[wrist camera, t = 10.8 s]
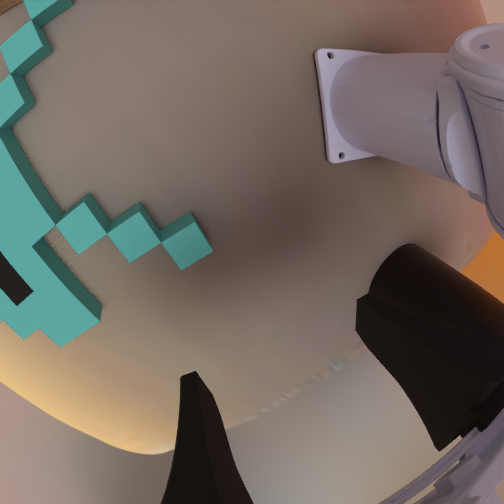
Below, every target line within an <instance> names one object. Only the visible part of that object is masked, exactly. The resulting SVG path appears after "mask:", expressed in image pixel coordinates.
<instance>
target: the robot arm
mask: <svg viewBox="0 0 504 504" xmlns="http://www.w3.org/2000/svg"><path fill="white" fill-rule="evenodd" d="M327 53H329V54H330V56H331V57H330V59H329V58H328V56H327ZM315 61H316V67H317V74H318V81H319V88H320V95H321V103H322V112H323V121H324V130H325V140H326V152H327V159H328V161H329V162H331V163H333V164H337V163H342V162H347V161H352V160H357V159H362V158H368V157H373V156H381V157H384V158H387V159H390V160H393V161H396V162H399V163H402V164H404V165H407V166H410V167H413V168H416V169H418V170H421V171H424V172H426V173H429V174H431V175H434V176H436V177H439V178H441V179H444V180H446V181H448V182H451V183H453V184H456V185H458V186H460V187H462V188H464V189H466V190H467V191H468V194H469V197H471V198H473V199H475V200H477V201H479V202H481V203H483V204H485V206H486V211H487V215H488V218H489V220H490V222H491V224H492V226H493V227H494V228H495V230H496V231H497V232H498V234H499V235H500V236H501V237H502V238H503V239H504V23H494V24H486V25H481V26H477V27H474V28H471V29H469V30H467V31H465V32H463V33H462V34H460V35H459V36H458V37H457V38H456V40H455V42H454V44H453V45H452V46H451V48H450V49H449V51H448V53H394V54H382V53H374V52H366V51H356V50H343V49H324V48H322V49H318V50H316V52H315ZM340 152H341V157H340V158H339V153H340ZM355 330H356V332H357V333H358V335H359V336H360V338H361V339H362V341H363V342H364V343H365V345H366V346H367V348H368V349H369V350H370V351H371V352H372V353H373V354H374V355H375V357H376V358H377V359H378V360H379V361H380V363H381V364H382V365H383V366H384V367H385V368H386V369H387V370H388V372H389V373H390V374H391V375H392V376H393V377H394V378H395V379H396V381H397V382H398V383H399V385H400V386H401V387H402V389H403V390H404V392H405V393H406V395H407V396H408V397H409V399H410V400H411V402H412V404H413V406H414V407H415V409H416V410H417V412H418V414H419V416H420V417H421V419H422V421H423V423H424V424H425V426H426V428H427V431H428V433H429V435H430V437H431V439H432V441H433V444H434V446H435V447H436V449H437V450H438V451H441V450H442V449H443V448H445V447H446V446H447V445H449V443H451V442H452V441H453V440H455V439H456V438H457V437H458V436H459V435H461V437H462V438H463V439H462V440H461V441H460V442H459V443H458V444H457V445H456V446H454V447H453V448H452V449H451V450H450V451H449V452H448V453H447V454H445V455H444V456H443V457H442V458H441V459H440V460H438V462H436V463H435V464H434V465H433V466H431V467H430V468H429V469H428V470H426V471H425V472H424V473H422V474H421V475H420V476H418V477H417V478H416V479H414V480H413V481H412V482H410V483H409V484H407V485H406V486H405V487H403V488H402V489H400V490H399V491H398V492H396V493H394V494H393V495H391V496H390V497H388V498H387V499H385V500H383V501H382V502H380V503H378V504H404V503H405V502H406V501H408V500H409V499H411V498H412V497H414V496H415V495H416V494H418V493H419V492H420V491H421V490H423V489H424V488H426V487H427V486H428V485H430V484H431V483H432V482H433V481H434V480H436V479H437V478H438V477H439V476H440V475H442V474H443V473H444V472H445V471H446V470H448V468H450V467H451V466H452V465H453V464H454V463H455V462H456V461H458V460H459V463H458V464H456V465H455V466H454V467H452V468H451V469H449V470H448V471H447V472H446V473H445V474H443V475H442V476H441V478H439V479H438V480H437V481H436V482H435V483H434V485H433V486H434V487H435V489H434V490H432V491H431V492H430V493H428V494H427V495H426V496H424V497H423V498H421V499H420V500H418V501H417V502H415V503H414V504H504V502H503V500H502V499H501V498H500V496H499V495H498V493H497V492H496V491H495V490H496V488H497V487H498V486H499V484H500V483H501V482H502V480H503V479H504V338H495V337H486V336H479V335H473V334H468V333H463V332H459V331H455V330H452V329H449V328H445V327H442V326H439V325H436V324H433V323H431V322H428V321H426V320H423V319H421V318H418V317H416V316H414V315H412V314H409V313H407V312H405V311H403V310H401V309H399V308H397V307H395V306H393V305H391V304H388V303H386V302H384V301H382V300H380V299H378V298H376V297H374V296H372V295H370V294H366V295H364V296H362V297H361V298H359V299H357V310H356V329H355ZM161 504H253V501H252V499H251V497H250V495H249V493H248V491H247V490H246V487H245V485H244V483H243V481H242V479H241V477H240V474H239V472H238V470H237V467H236V465H235V462H234V459H233V456H232V453H231V450H230V446H229V442H228V439H227V436H226V432H225V429H224V425H223V421H222V418H221V415H220V412H219V410H218V407H217V405H216V402H215V399H214V397H213V395H212V393H211V392H210V390H209V389H208V388H207V386H206V385H205V383H204V382H203V381H202V379H201V378H200V376H199V375H198V373H197V372H196V371H194V372H191V373H189V374H186V375H183V376H181V378H180V407H179V419H178V430H177V437H176V444H175V451H174V456H173V462H172V467H171V471H170V475H169V479H168V482H167V486H166V490H165V493H164V496H163V499H162V502H161Z"/></svg>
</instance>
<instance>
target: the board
mask: <svg viewBox="0 0 504 504" xmlns="http://www.w3.org/2000/svg"><path fill="white" fill-rule="evenodd" d="M22 1H23V0H0V15H1V14H3V13H4V12H6V11H7V10H9V9H11V8H12V7H14V6H15V5H17V4H19V3H21V2H22Z"/></svg>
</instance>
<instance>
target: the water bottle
mask: <svg viewBox="0 0 504 504" xmlns="http://www.w3.org/2000/svg"><path fill="white" fill-rule="evenodd" d="M369 294H370V295H372V296H374V297H376V298H378V299H380V300H382V301H384V302H386V303H388V304H391V305H393V306H395V307H397V308H399V309H401V310H403V311H405V312H407V313H409V314H412V315H414V316H416V317H418V318H421V319H423V320H426V321H428V322H431V323H433V324H436V325H439V326H442V327H445V328H449V329H452V330H455V331H459V332H463V333H468V334H473V335H479V336H486V337H495V338H504V304H503V303H502V302H501V301H499V300H498V299H497V298H495V297H494V296H493V295H491V294H490V293H488V292H487V291H486V290H484V289H483V288H482V287H480V286H479V285H477V284H476V283H474V282H473V281H472V280H470V279H469V278H467V277H466V276H464V275H463V274H461V273H460V272H458V271H457V270H455V269H454V268H452V267H451V266H449V265H448V264H446V263H445V262H443V261H442V260H440V259H438V258H437V257H435V256H434V255H432V254H430V253H429V252H427V251H426V250H424V249H422V248H421V247H419V246H417V245H415V244H407V245H404V246H402V247H400V248H398V249H397V250H395V251H394V252H393V253H392V254H391V255H390V256H389V257H388V258H387V259H386V260H385V261H384V262H383V264H382V265H381V266H380V268H379V269H378V271H377V273H376V274H375V276H374V278H373V281H372V283H371V286H370V290H369Z"/></svg>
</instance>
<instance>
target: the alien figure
mask: <svg viewBox="0 0 504 504" xmlns="http://www.w3.org/2000/svg"><path fill="white" fill-rule="evenodd" d="M23 1H24V3H25V6H26V8H27V11H28V13H29V16H30V18H31V20H30V21H29V22H28V23H26V24H25V25H24V26H23V27H21V28H20V29H19V30H18V31H17V32H16V33H14V34H13V35H12V36H11V37H10V38H9V39H8V40H7V41H5V42H4V43H3V44H2V45H1V46H0V49H1V52H2V54H3V57H4V59H5V62H6V64H7V66H8V69H9V71H10V73H11V74H9V75H8V76H7V77H6V78H5V79H4V80H3V81H2V82H1V83H0V322H1V321H2V320H3V321H4V322H5V323H6V324H7V325H8V326H9V327H11V328H12V329H13V330H14V331H15V332H16V333H17V334H18V335H19V336H20V337H21V338H22V339H23V340H24V339H25V338H27V337H28V336H29V335H30V334H32V333H33V332H34V331H36V330H37V329H38V328H39V329H40V330H41V331H42V332H43V333H45V334H46V335H47V336H48V337H49V338H50V339H51V340H52V341H54V342H55V343H56V344H57V345H58V346H59V347H62V346H63V345H65V344H66V343H68V342H69V341H71V340H72V339H74V338H75V337H77V336H79V335H80V334H82V333H83V332H85V331H86V330H88V329H89V328H91V327H93V326H94V325H96V324H97V323H99V322H100V318H101V310H102V305H101V304H100V303H99V302H98V301H97V300H96V299H95V298H94V297H93V296H92V295H91V294H90V292H89V291H88V290H87V289H86V288H85V287H84V286H83V285H82V284H81V283H80V282H79V280H78V279H77V278H76V277H75V276H74V275H73V274H72V272H71V271H70V270H69V269H68V268H67V267H66V265H65V264H64V263H63V262H62V261H61V260H60V258H59V257H58V256H57V255H56V253H55V252H54V251H53V250H52V248H51V247H50V246H49V245H48V243H47V242H46V241H45V239H44V238H43V236H44V235H45V234H46V233H47V232H48V231H49V230H50V229H52V228H53V227H54V226H55V225H56V226H57V228H58V229H59V230H60V232H61V233H62V234H63V236H64V237H65V238H66V240H67V241H68V242H69V243H70V245H71V246H72V247H73V248H74V250H75V251H76V252H77V253H78V255H79V254H80V253H82V252H83V251H84V250H86V249H87V248H88V247H90V246H91V245H92V244H94V243H95V242H96V241H98V240H99V239H101V238H102V237H103V236H105V235H106V234H108V236H109V237H110V238H111V240H112V241H113V242H114V244H115V245H116V246H117V247H118V249H119V250H120V251H121V253H122V254H123V255H124V256H125V258H126V259H127V260H128V261H129V263H131V262H132V261H134V260H135V259H137V258H138V257H140V256H141V255H143V254H145V253H146V252H148V251H149V250H151V249H152V248H154V247H155V246H157V245H159V244H160V243H162V245H163V246H164V248H165V249H166V250H167V252H168V253H169V254H170V256H171V257H172V258H173V260H174V261H175V262H176V264H177V265H178V267H179V268H180V269H181V271H182V270H184V269H185V268H187V267H188V266H190V265H192V264H193V263H195V262H197V261H198V260H200V259H202V258H203V257H205V256H207V255H208V254H210V253H212V252H213V250H212V247H211V245H210V243H209V241H208V239H207V237H206V236H205V234H204V233H203V231H202V229H201V228H200V226H199V225H198V223H197V221H196V220H195V218H194V217H193V215H192V213H191V212H189V213H187V214H186V215H184V216H182V217H181V218H179V219H177V220H176V221H174V222H173V223H171V224H169V225H168V226H166V227H165V228H163V229H162V230H159V229H158V227H157V226H156V225H155V223H154V222H153V220H152V219H151V217H150V216H149V214H148V213H147V211H146V210H145V208H144V207H143V205H142V204H141V202H139V203H138V204H136V205H135V206H133V207H132V208H130V209H129V210H127V211H126V212H124V213H123V214H121V215H120V216H119V217H117V218H116V219H114V220H113V221H111V222H110V221H109V219H108V218H107V217H106V215H105V214H104V212H103V211H102V209H101V208H100V207H99V205H98V204H97V202H96V201H95V199H94V198H93V197H92V195H91V194H90V193H89V194H88V195H87V196H85V197H84V198H83V199H81V200H80V201H79V202H78V203H76V204H75V205H74V206H73V207H71V208H70V209H69V210H68V211H67V212H65V213H64V214H63V213H62V211H61V210H60V209H59V207H58V206H57V204H56V203H55V201H54V200H53V199H52V197H51V196H50V194H49V193H48V191H47V190H46V188H45V187H44V185H43V183H42V182H41V180H40V179H39V177H38V176H37V174H36V172H35V171H34V169H33V168H32V166H31V164H30V163H29V161H28V159H27V158H26V156H25V154H24V152H23V151H22V149H21V147H20V145H19V144H18V142H17V140H16V138H15V136H14V134H13V132H12V131H11V129H10V128H11V127H12V126H13V125H14V124H15V123H16V122H17V121H18V120H19V119H20V118H21V117H22V116H23V115H24V114H25V113H26V112H27V111H28V110H29V109H30V108H32V107H33V106H34V105H35V104H36V102H35V100H34V98H33V96H32V94H31V92H30V90H29V88H28V86H27V83H26V81H25V79H24V77H23V76H24V75H25V74H26V73H27V72H28V71H29V70H30V69H32V68H33V67H34V66H35V65H36V64H38V63H39V62H40V61H41V60H43V59H44V58H45V57H46V56H48V55H49V54H50V53H51V52H53V51H52V49H51V47H50V45H49V42H48V40H47V38H46V36H45V34H44V32H43V29H42V26H43V25H45V24H46V23H47V22H49V21H50V20H52V19H53V18H54V17H56V16H57V15H59V14H60V13H62V12H63V11H65V10H66V9H68V8H69V7H71V6H72V5H74V4H73V2H72V0H23Z"/></svg>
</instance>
